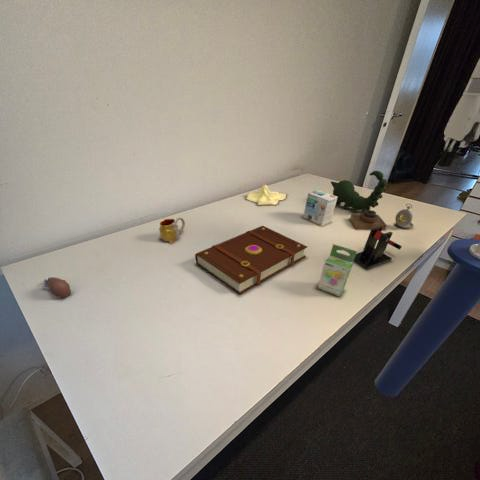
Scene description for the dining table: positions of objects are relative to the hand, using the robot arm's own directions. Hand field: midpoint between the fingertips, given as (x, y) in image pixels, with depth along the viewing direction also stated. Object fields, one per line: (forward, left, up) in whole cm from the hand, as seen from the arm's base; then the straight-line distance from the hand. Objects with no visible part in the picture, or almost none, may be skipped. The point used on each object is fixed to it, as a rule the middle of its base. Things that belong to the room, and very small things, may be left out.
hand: (443, 165), depth 82 cm
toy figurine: (+12, -34, -27) cm, 45 cm away
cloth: (+51, -45, -27) cm, 73 cm away
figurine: (+117, +34, -27) cm, 125 cm away
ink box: (+35, +30, -27) cm, 54 cm away
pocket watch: (-6, -16, -27) cm, 32 cm away
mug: (+89, -1, -27) cm, 93 cm away
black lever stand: (+17, +12, -27) cm, 34 cm away
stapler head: (+14, +10, -22) cm, 27 cm away
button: (+9, -17, -23) cm, 30 cm away
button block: (+9, -17, -27) cm, 33 cm away
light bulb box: (+30, -20, -27) cm, 45 cm away
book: (+59, +15, -27) cm, 67 cm away
